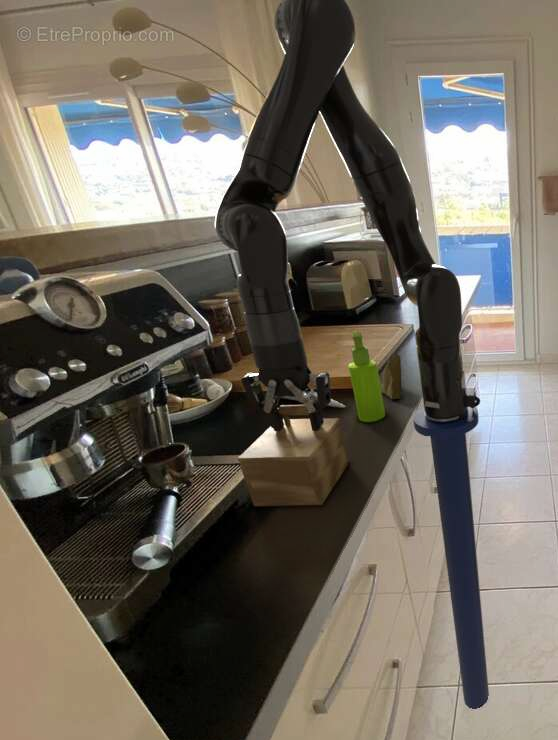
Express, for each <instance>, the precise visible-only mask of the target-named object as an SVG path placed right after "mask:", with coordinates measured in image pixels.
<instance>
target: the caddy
mask: <svg viewBox="0 0 558 740" xmlns="http://www.w3.org/2000/svg"><path fill="white" fill-rule="evenodd" d="M348 462H349V461H348V457H347V454H346V449H345V445H344V440H343V435H342V431H341V427H340V424H338V425H337V426H336V428H335V429H334V430H333V432H332V433H331V434H330V435H329V437H328V438H327V439H326V441H325V442H324V443H323V445H322V446H321V447H320V449H319V450H318V451H317V452H316V454H315V455H314V456H313V458H312V459H311V460H310V461H274V462H239V461H238V464H239V467H240V470H241V473H242V475H243V479H244V481H245V485H246V488H247V491H248V493H249V496H250V498H251V502H252V504H253V507H282V506H283V507H284V506H285V507H287V506H289V507H290V506H322V505H324V502H326V499H327V498H328V496H329V494H330V493H331V491H332V490H333V488H334V487H335V485H336V484H337V482H338V480H339V479H340V478H341V476H342V474H343V473H344V471H346V468H347V467H348V465H349V463H348Z"/></svg>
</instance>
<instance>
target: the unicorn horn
mask: <svg viewBox="0 0 558 740" xmlns="http://www.w3.org/2000/svg"><path fill="white" fill-rule="evenodd" d="M265 389H266V390H267V389H268V388H267V387H266V386H265ZM314 392H315V396H316V397H317V391H314ZM303 394H305V391H304V392H303ZM280 399H285V400H290V401H295V402H296V401H297V402H299V400H298V399H297V398H296V397H290V396H284V397H280ZM326 407H334V408H347V406H346V405H344V404H343V403H341V402H339V401H337V400H334V399H332V398H331V402H330V403H329V404H328V405H327V406H326Z"/></svg>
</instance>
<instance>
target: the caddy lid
mask: <svg viewBox="0 0 558 740" xmlns="http://www.w3.org/2000/svg"><path fill="white" fill-rule="evenodd" d="M278 408H279V414H280V415H282V418H283V422H284V428H283V429H282V430H281V431H274V429H273V428H271V426H270V425H269V427H268V428H267V429H266V430H265V431H264V432H263V433H262V434H261V435H260V436H259V437H257V439H256V440H254V441H253V443H252V444H251V445H250V446H249V447H248V448H247V449H246V450H244V452H242V453H241V454H240V455H239V456H238V457H237V461H238V463H239V462H274V461H310V460H311V459H312V458H313V456H314V455H315V454H316V452H317V451H318V450H319V449H320V447H321V446H322V445H323V443H324V442H325V441H326V439H327V438H328V437H329V435H330V434H331V433H332V432H333V430H334V429H335V428H336V426H337V425H340V422H341V420H340V418H339V417H332V418H329V417H327V418H326V417H325V418H323V421H324V423H323V425H322V426H321V428H320V429H319V430H318V431H313V430H312V427H311V423H310V418H290V416H309V414H308V413H309V412H310V411H309V410H308V409H307V408H306V406H305V405H304V404H281V405H279V407H278Z"/></svg>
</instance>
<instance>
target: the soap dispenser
mask: <svg viewBox="0 0 558 740" xmlns="http://www.w3.org/2000/svg"><path fill="white" fill-rule="evenodd" d="M362 333H363V332H362V330H355V331H352V332H351V334H352V335H351V336H352V340H353V345H354V347H352V349H351V354H352V360H353V362H350V363H349V364H348V370H349V375H350V381H351V386H352V390H353V394H354V395H353V396H354V400H355V404H356V410H357V411H356V412H357V415H358V420H359V421H360V422H364V423H373V422H377V421H379V420H382V419H383V418H385V417H386V411H385V404H384V398H383V394H382V393H383V392H382V391H381V387H380V385H381V380H380V375H379V371H378V369H379V368H378V364H377V361H376V360H374V359H371V358H370V353H369V348H368V347H367V346H365V345H364V344H363V334H362Z"/></svg>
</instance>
